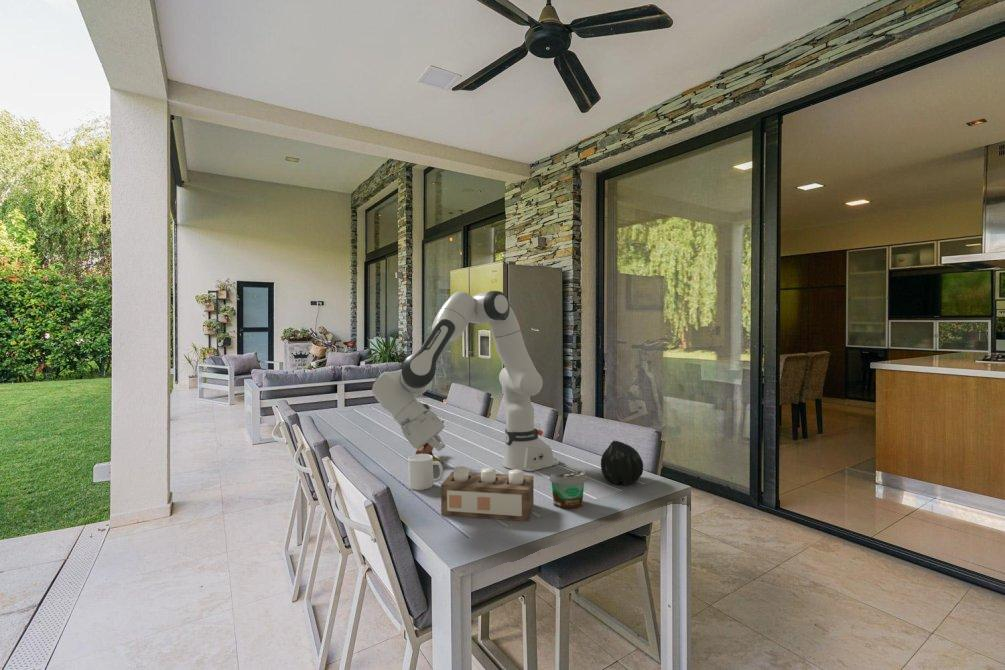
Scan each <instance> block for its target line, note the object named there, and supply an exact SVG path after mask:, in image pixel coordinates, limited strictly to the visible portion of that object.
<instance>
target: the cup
mask: <svg viewBox="0 0 1005 670" xmlns="http://www.w3.org/2000/svg"><path fill="white" fill-rule="evenodd" d="M415 454H416V453H415ZM415 454H413V455H410V456H408V460H407V461H408V487H409V488H410V489H411V490H413V489H415V490H414V491H423V490H422V489H426V490H429V489H431V488H432V487H433V486H434V483H438V482H441V480H442V479H443V476H444V468H443V465H442V463H440V462H441V461H440V462H439V460H436V461H433V456H432V455H429V454H416V455H415ZM434 466H438V468H439V476H438V477H434ZM430 487H431V488H430ZM428 488H429V489H428Z"/></svg>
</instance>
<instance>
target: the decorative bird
mask: <svg viewBox="0 0 1005 670" xmlns="http://www.w3.org/2000/svg"><path fill="white" fill-rule="evenodd" d="M441 421H442V422H443V424H444V423H445V421H444V420H441ZM433 450H434V447H432V446H431V445H429V444H428V443H426V444H424V445H423V446H422V447H421V448H419V449H416V451H415V454H414V455H416V454H429V455H432V456H433V461H438V462H440V463H441V464H442V463H443V461H444V459H439V458H438V457H436V456H435V455H434V453H433Z"/></svg>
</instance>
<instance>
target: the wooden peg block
mask: <svg viewBox="0 0 1005 670" xmlns="http://www.w3.org/2000/svg"><path fill="white" fill-rule="evenodd" d="M523 475H524V485H510V484H509V473H508V474H506V473H496V483H495V484H493V483H481V472H472V471H468V482H459V481H454V470H453V471H452V472H450V474H449V475H448V476H446V478H445V479H444V480H443V482H442V483H441V484H440V508H441V509H440V510H441V512H440V513H441V516H453V517H455V516H456V517H468V518H482V519H495V520H497V519H498V520H508V521H510V520H511V521H522V522H530V518H531V514H532V511H533V507H534V491H535V489H534V486H535V485H534V475H528V474H527V475H526V474H523ZM447 490H454V491H470V492H486V493H501V494H517V495H522V516H512V515H498V514H483V513H469V512H455V511H447Z"/></svg>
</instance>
